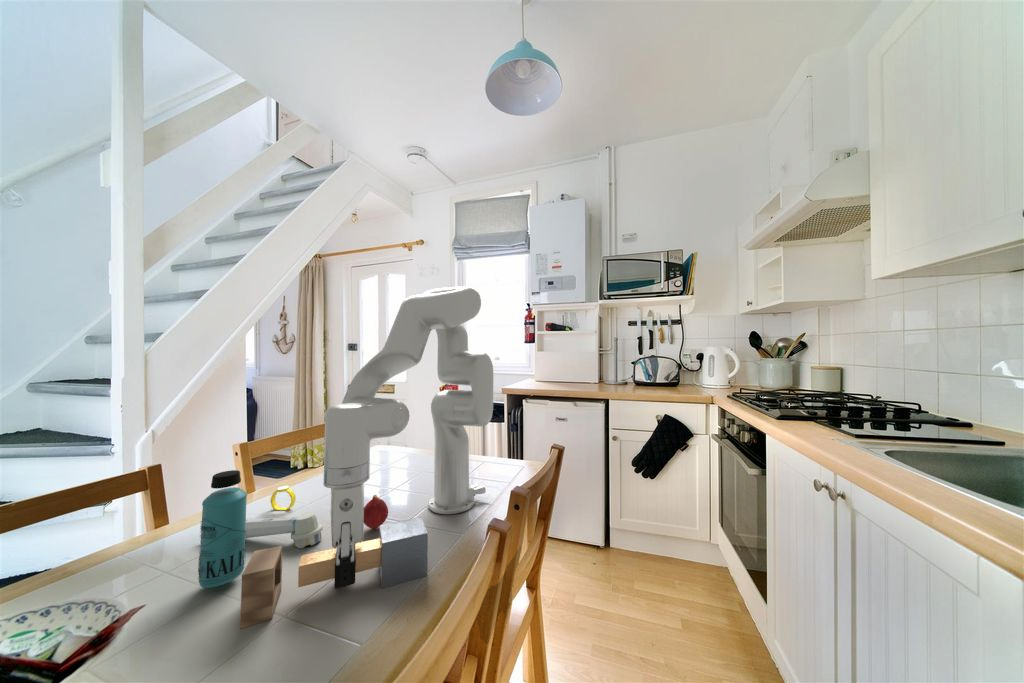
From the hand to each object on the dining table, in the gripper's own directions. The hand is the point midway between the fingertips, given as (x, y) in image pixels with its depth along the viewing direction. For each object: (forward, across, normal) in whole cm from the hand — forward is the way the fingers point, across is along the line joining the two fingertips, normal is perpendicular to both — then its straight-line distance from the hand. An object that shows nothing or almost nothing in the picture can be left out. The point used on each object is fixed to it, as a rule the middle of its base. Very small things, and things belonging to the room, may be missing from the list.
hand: (345, 574), depth 59 cm
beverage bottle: (+2, +10, +20) cm, 23 cm away
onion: (+2, +19, -6) cm, 20 cm away
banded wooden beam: (0, 0, -3) cm, 3 cm away
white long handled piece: (+2, +24, +16) cm, 29 cm away
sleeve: (+2, 0, -10) cm, 10 cm away
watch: (+2, +41, +16) cm, 44 cm away
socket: (+2, 0, +12) cm, 12 cm away
